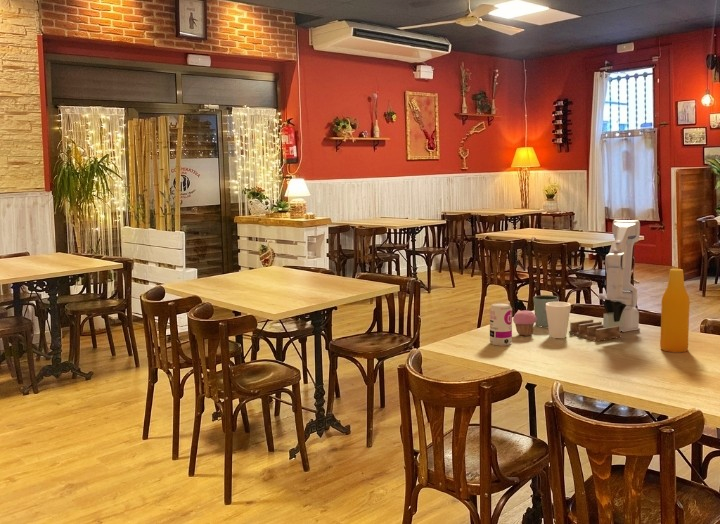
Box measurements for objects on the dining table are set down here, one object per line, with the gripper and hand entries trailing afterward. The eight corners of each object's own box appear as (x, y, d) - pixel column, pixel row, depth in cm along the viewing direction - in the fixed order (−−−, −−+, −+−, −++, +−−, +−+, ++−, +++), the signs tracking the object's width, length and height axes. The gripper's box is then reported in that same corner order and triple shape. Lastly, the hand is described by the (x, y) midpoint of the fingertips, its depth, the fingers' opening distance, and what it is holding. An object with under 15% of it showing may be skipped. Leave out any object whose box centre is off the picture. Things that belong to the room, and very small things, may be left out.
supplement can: (515, 342, 274) (516, 304, 272) (504, 347, 268) (504, 307, 266) (497, 339, 279) (497, 301, 277) (485, 344, 274) (485, 305, 271)
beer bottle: (655, 350, 259) (658, 270, 255) (665, 344, 265) (668, 266, 261) (682, 354, 252) (685, 272, 248) (691, 348, 259) (694, 268, 255)
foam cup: (568, 333, 286) (568, 301, 284) (572, 339, 277) (573, 306, 275) (543, 334, 287) (543, 301, 285) (547, 339, 278) (547, 306, 276)
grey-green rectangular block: (619, 324, 275) (619, 311, 274) (623, 325, 273) (624, 312, 272) (603, 326, 271) (603, 313, 271) (608, 327, 269) (608, 314, 269)
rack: (592, 330, 291) (592, 319, 291) (620, 337, 278) (620, 326, 277) (568, 333, 286) (569, 322, 286) (596, 341, 273) (596, 330, 272)
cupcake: (539, 334, 286) (540, 309, 285) (529, 338, 280) (529, 313, 278) (519, 331, 292) (519, 307, 291) (509, 335, 286) (509, 310, 284)
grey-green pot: (560, 327, 297) (561, 299, 295) (536, 328, 297) (536, 299, 295) (554, 322, 307) (554, 294, 305) (530, 322, 307) (530, 295, 305)
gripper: (592, 283, 275) (591, 318, 277) (621, 288, 262) (620, 325, 264) (606, 281, 278) (605, 316, 280) (635, 287, 265) (634, 323, 267)
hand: (613, 320), depth 272 cm, fingers closed on grey-green rectangular block, 2 cm apart
